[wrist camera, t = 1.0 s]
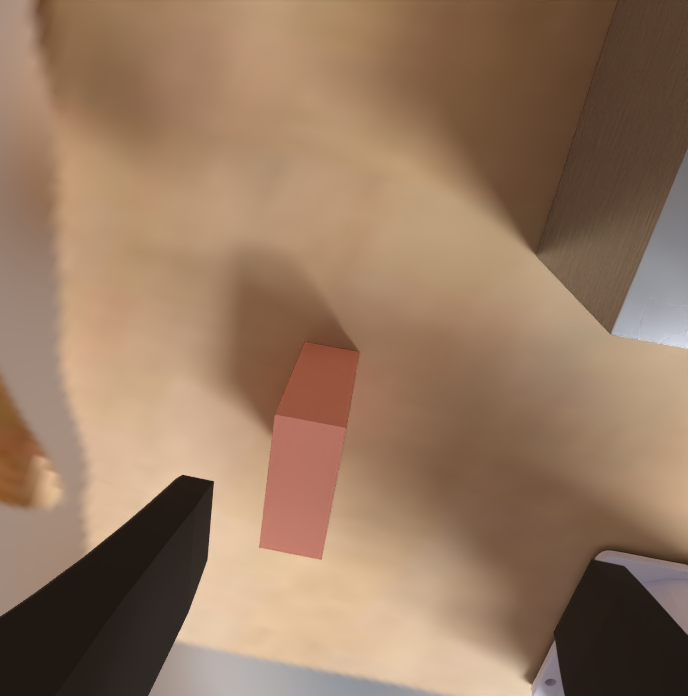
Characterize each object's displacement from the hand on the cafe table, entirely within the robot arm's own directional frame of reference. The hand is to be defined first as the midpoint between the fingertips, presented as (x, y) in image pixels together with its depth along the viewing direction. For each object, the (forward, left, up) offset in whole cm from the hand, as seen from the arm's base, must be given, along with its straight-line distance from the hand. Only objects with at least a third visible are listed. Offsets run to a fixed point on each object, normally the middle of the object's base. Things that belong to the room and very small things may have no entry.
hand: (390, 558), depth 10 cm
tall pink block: (-3, +2, -10) cm, 10 cm away
